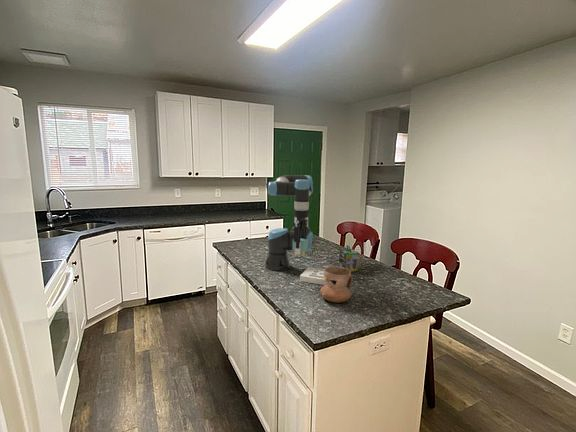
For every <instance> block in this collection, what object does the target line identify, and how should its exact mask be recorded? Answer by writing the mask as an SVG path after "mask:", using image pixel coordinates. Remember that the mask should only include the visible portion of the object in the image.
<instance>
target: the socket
mask: <svg viewBox="0 0 576 432" xmlns="http://www.w3.org/2000/svg"><path fill="white" fill-rule="evenodd" d="M324 269H325V268H322V267H321V268H320V267H319V268H318V267H314V266H313V267H310V266H308V267H307V268H306V269H305V270H304V271H303V272H302V273H301V274H300V275H299V282H304V283H310V284H314V285H321V286H324V285H326V284H327V282H326V281H325V282H322V281H321V279H323V278H325V276H324Z"/></svg>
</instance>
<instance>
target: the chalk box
mask: <svg viewBox="0 0 576 432" xmlns="http://www.w3.org/2000/svg"><path fill="white" fill-rule="evenodd" d="M338 254H339V258H338V260H339V261H338V266H339V267H344V268H347V269H349V270H350V271H351V273H353V272H359V271H360V252H359V251H357V250H355V249H352V248H351V246H349V245H346V249H339V253H338Z"/></svg>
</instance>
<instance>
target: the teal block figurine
mask: <svg viewBox="0 0 576 432" xmlns="http://www.w3.org/2000/svg"><path fill="white" fill-rule="evenodd" d="M300 242H301V251H302V252H301V256H303V257H304V256H305V255H306V252H307V251H306V250H307V249H308V239H302V238H301V239H300ZM295 246H296V242H294V239H293V248H292V250H294V251H293V252H294V254H293V256H295V257H297V256H298V254H295Z"/></svg>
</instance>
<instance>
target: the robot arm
mask: <svg viewBox="0 0 576 432" xmlns="http://www.w3.org/2000/svg"><path fill="white" fill-rule="evenodd" d="M313 192H314V182H313V178H312V176H311V175H306V174H304V175H301V174H285V175H281V176H280V177H277V178H276V180H275V181H269V182H268V184H267V194H268V195H269V196H274V197H275V196H276V197H278V196H283V197H284V196H285V197H288V196H289V197H294V206H293V208H294V210H293V216H294V222H293V227H292V228H291V230H290V231H289V229H288V228H284V227H279V228H274V229H271V230H269V232H268V238H267V240H268V241H267V242H268V243H267V245H268V249H267V257H266V259H265V262H264V267H265V269H267V270H270V271H279V272H280V271H286V270H289V268H290V267H291V264H290V259H289V256H288V252H290V251H291V252H292V251H293V252H294V250H292V248H293V239H294V242H296V246H295V254H297V255H302V251H301V242H300V239H301V238H302V239H308V249H307V250H306V251H305V252H309V251H311V249H312V241H313V235H314V233H313V232H312V231H311V228H310V227H309V208H310V207H309V206H310V196H311V195H312V194H313Z"/></svg>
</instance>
